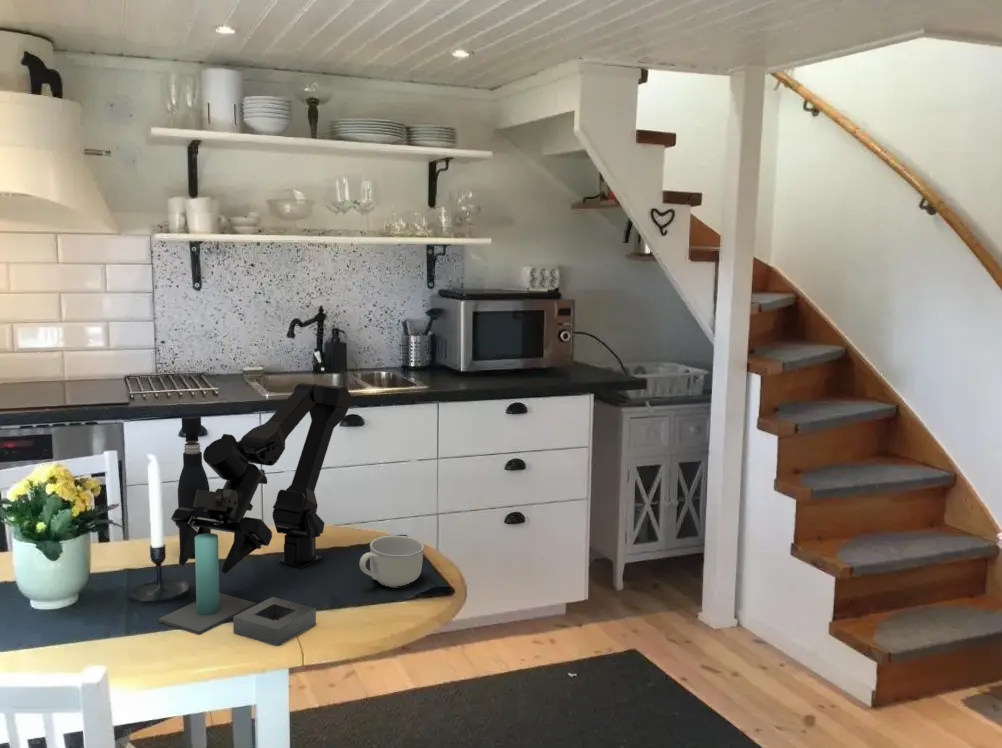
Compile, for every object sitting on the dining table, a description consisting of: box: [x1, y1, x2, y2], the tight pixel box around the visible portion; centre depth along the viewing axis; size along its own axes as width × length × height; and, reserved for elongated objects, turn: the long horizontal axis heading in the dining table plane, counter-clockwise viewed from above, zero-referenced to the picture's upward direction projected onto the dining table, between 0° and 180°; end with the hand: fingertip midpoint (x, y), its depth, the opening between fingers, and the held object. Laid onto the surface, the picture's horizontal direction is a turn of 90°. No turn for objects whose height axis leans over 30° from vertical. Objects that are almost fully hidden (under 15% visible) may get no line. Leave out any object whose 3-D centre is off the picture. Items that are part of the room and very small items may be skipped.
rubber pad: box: [157, 592, 257, 635], centre depth 167 cm, size 14×10×1 cm
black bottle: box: [177, 414, 212, 560], centre depth 194 cm, size 6×6×30 cm
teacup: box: [358, 535, 425, 588], centre depth 182 cm, size 14×11×8 cm
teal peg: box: [194, 532, 220, 615], centre depth 166 cm, size 4×4×14 cm
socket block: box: [232, 596, 317, 647], centre depth 161 cm, size 10×10×3 cm
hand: (201, 568), depth 164 cm, fingers open, 9 cm apart
